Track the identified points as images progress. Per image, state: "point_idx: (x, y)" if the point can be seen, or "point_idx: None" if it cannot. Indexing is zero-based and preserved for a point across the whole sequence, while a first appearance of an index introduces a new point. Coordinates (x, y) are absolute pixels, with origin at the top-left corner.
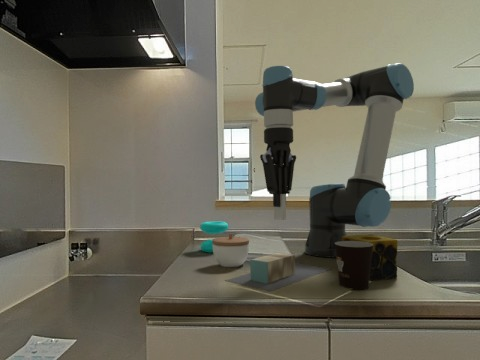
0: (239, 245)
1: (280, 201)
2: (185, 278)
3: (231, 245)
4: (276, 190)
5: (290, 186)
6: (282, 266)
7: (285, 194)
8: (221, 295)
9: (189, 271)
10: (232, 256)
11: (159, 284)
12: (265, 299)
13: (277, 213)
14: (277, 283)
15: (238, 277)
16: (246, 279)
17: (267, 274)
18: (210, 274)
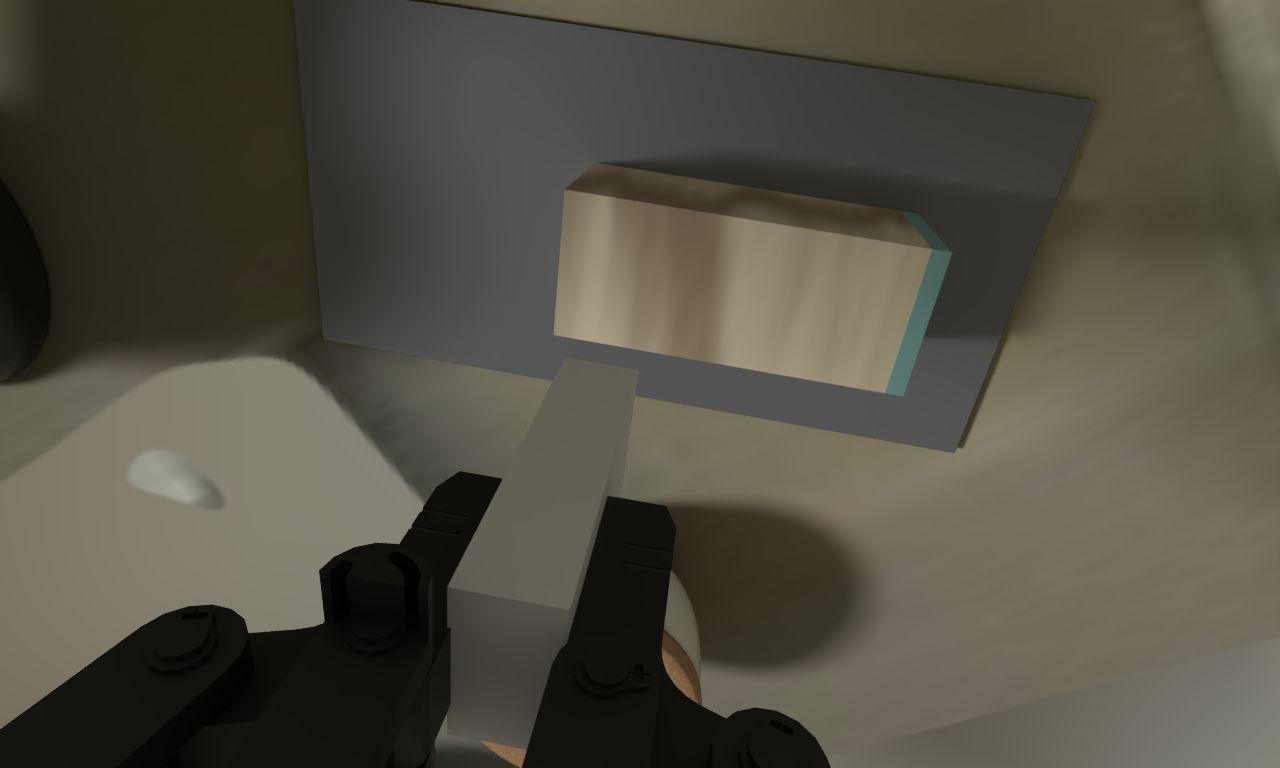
0: None
1: (593, 546)
2: (963, 635)
3: (676, 643)
4: (777, 734)
5: (123, 688)
6: (738, 203)
7: (451, 582)
8: (1235, 333)
9: (823, 680)
10: (674, 586)
11: (1121, 673)
12: (1250, 55)
13: (618, 479)
14: (885, 151)
15: (856, 421)
16: None
17: (918, 226)
18: (829, 578)
